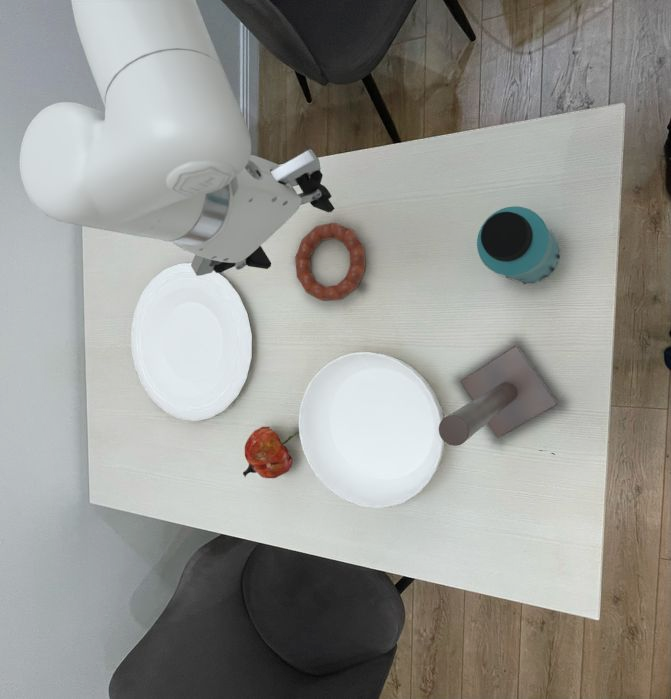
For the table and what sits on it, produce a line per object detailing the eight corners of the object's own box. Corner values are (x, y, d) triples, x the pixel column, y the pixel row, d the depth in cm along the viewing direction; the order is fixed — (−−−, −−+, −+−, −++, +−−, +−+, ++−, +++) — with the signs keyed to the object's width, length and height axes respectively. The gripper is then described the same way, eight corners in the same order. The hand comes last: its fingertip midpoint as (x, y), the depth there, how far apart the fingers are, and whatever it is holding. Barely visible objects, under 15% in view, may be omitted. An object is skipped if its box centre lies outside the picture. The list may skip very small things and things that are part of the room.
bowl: (331, 495, 76) (309, 509, 71) (310, 359, 77) (287, 362, 71) (467, 492, 67) (454, 508, 62) (443, 338, 68) (428, 340, 62)
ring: (341, 209, 73) (334, 206, 72) (381, 270, 71) (375, 268, 69) (288, 256, 78) (280, 255, 76) (324, 315, 75) (317, 315, 74)
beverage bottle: (505, 229, 64) (464, 195, 46) (566, 228, 61) (547, 192, 43) (501, 285, 64) (459, 272, 46) (561, 286, 61) (541, 274, 43)
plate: (266, 418, 81) (259, 420, 79) (146, 420, 92) (137, 422, 91) (250, 251, 81) (243, 250, 79) (131, 275, 92) (122, 274, 90)
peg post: (517, 345, 64) (466, 360, 41) (558, 402, 62) (528, 450, 40) (462, 380, 67) (387, 412, 45) (499, 436, 65) (440, 498, 43)
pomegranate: (286, 412, 82) (228, 448, 80) (288, 407, 75) (225, 447, 72) (312, 454, 81) (254, 492, 79) (317, 453, 74) (254, 495, 72)
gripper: (233, 84, 41) (333, 148, 57) (106, 229, 48) (226, 251, 64) (281, 159, 40) (371, 203, 55) (143, 297, 47) (257, 303, 62)
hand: (293, 229), depth 59 cm, fingers open, 9 cm apart
